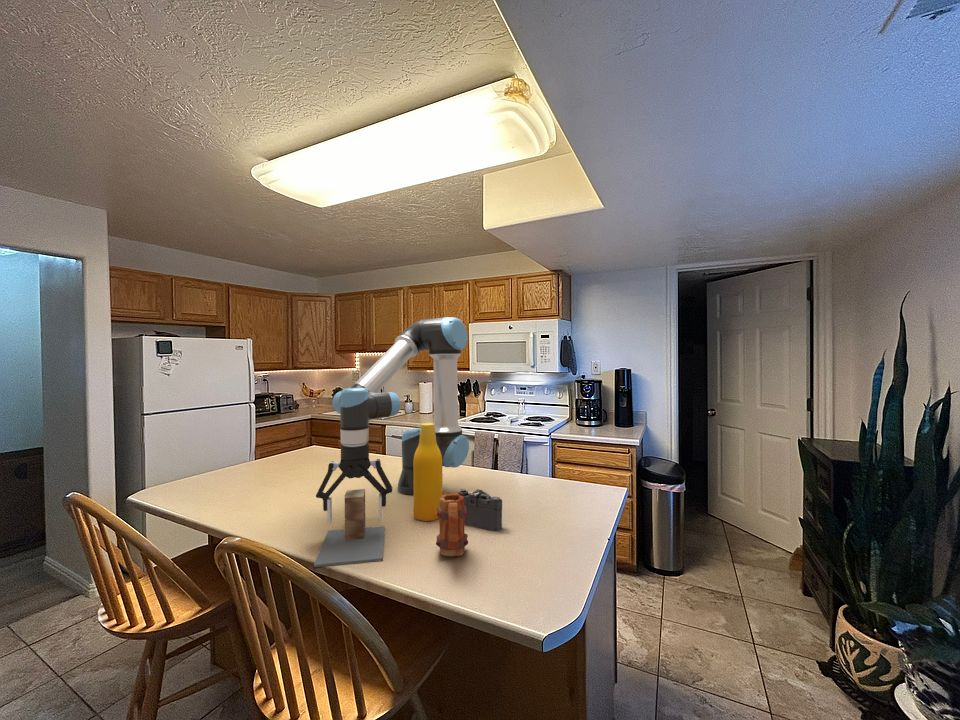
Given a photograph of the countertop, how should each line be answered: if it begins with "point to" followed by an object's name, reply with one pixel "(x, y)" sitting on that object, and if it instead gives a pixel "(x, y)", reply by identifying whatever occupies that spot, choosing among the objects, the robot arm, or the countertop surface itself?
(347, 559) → the mat
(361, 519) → the block
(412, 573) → the countertop surface
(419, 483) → the beer bottle
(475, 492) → the camera
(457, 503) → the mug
